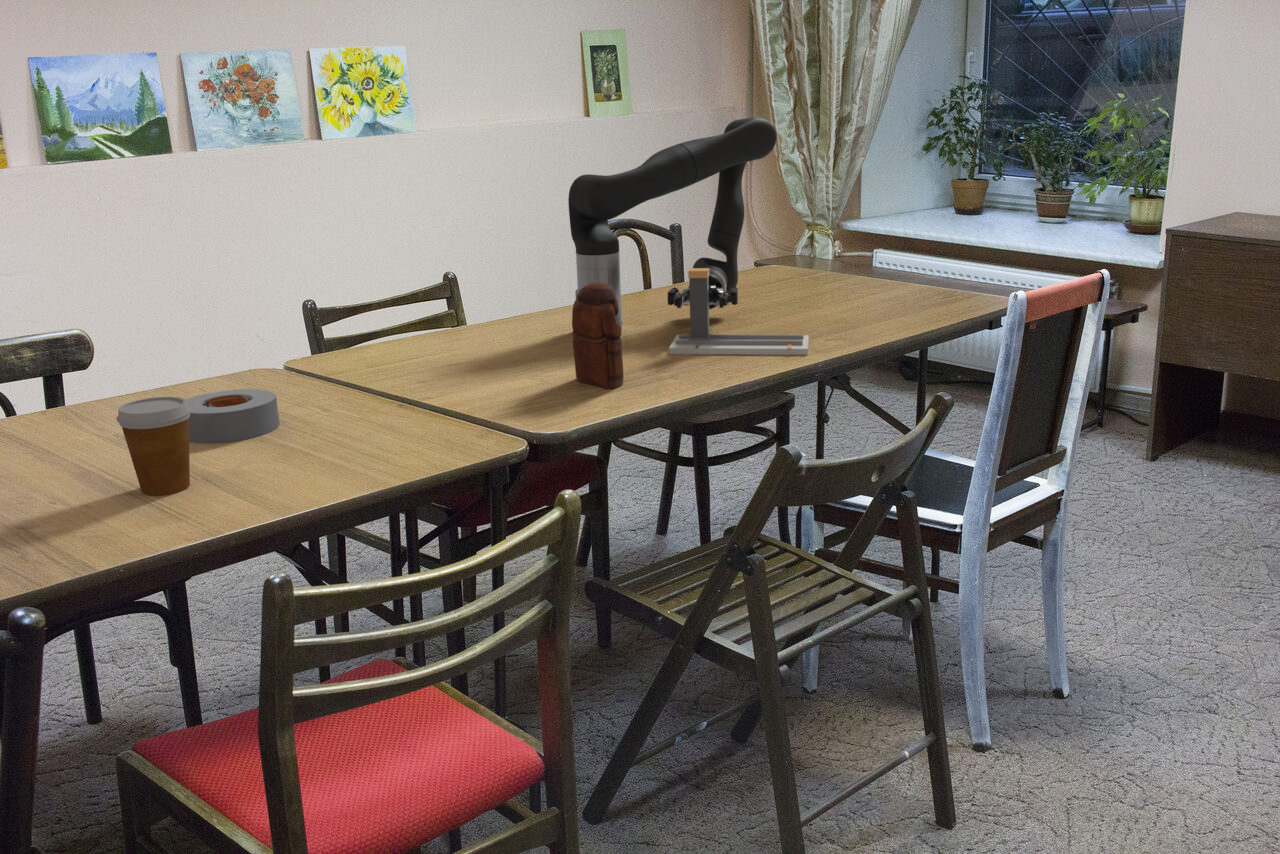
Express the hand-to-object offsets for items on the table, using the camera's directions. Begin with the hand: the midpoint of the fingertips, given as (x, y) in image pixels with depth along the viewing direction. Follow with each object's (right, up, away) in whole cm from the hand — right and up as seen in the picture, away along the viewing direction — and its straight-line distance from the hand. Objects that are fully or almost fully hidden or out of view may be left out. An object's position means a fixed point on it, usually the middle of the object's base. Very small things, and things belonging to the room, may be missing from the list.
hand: (699, 302), depth 232 cm
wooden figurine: (-19, -17, -21) cm, 33 cm away
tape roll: (-78, -25, -43) cm, 93 cm away
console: (+8, -9, +1) cm, 12 cm away
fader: (0, -7, +2) cm, 8 cm away
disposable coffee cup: (-78, -33, -70) cm, 110 cm away
